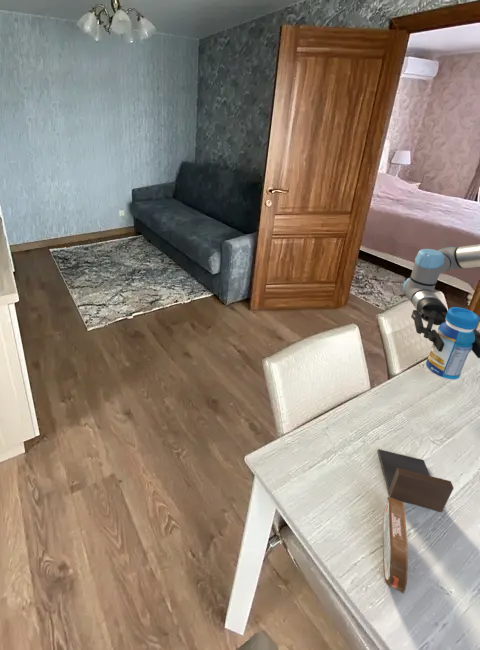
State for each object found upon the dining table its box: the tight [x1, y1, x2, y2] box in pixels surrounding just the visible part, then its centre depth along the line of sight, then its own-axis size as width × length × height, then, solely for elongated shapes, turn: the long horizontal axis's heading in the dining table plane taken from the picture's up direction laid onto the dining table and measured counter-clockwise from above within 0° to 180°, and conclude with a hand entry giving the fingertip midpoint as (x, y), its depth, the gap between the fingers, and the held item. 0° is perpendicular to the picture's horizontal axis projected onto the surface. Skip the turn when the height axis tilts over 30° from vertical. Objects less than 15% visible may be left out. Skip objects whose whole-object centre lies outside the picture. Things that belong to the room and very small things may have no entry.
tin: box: [382, 496, 409, 594], centre depth 65 cm, size 15×3×8 cm, turn 152°
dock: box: [376, 448, 454, 513], centre depth 78 cm, size 12×10×8 cm
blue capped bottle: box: [425, 306, 480, 381], centre depth 97 cm, size 8×8×20 cm
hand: (461, 350), depth 92 cm, fingers closed on blue capped bottle, 8 cm apart
